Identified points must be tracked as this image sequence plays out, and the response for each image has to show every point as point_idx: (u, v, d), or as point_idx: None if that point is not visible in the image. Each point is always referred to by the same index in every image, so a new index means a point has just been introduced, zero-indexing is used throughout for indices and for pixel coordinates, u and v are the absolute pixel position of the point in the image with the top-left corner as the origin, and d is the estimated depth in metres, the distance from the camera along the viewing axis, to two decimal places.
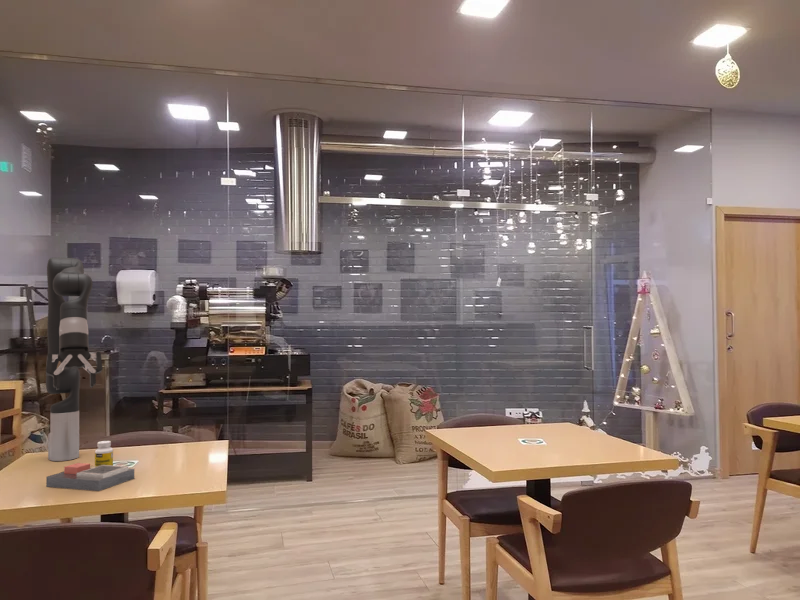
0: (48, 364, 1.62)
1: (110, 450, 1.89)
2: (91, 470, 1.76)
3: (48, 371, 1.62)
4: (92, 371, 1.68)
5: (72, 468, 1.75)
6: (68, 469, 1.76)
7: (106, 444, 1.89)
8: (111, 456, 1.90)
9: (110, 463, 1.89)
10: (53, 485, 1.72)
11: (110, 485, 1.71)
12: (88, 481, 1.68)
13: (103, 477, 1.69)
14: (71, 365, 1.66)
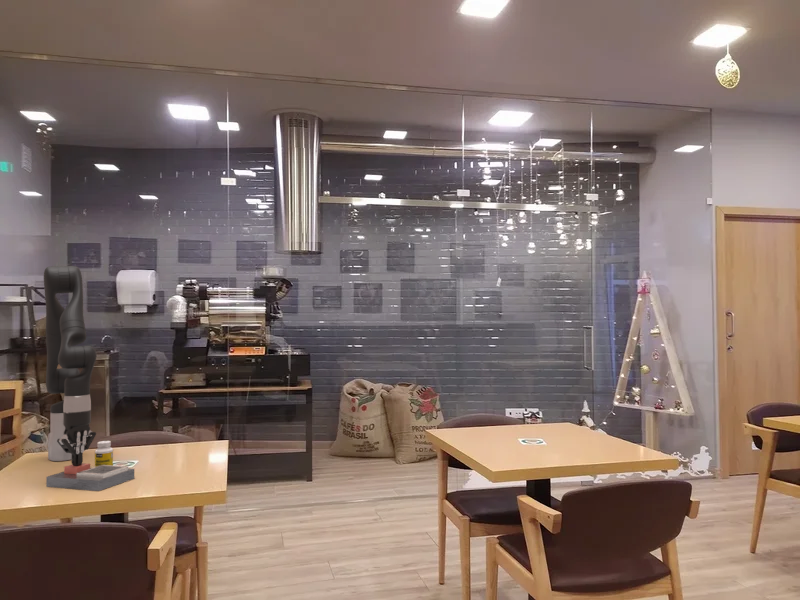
0: (69, 447, 1.74)
1: (110, 450, 1.89)
2: (91, 470, 1.76)
3: (73, 451, 1.75)
4: (82, 450, 1.78)
5: (72, 468, 1.75)
6: (68, 469, 1.76)
7: (106, 444, 1.89)
8: (111, 456, 1.90)
9: (110, 463, 1.89)
10: (53, 485, 1.72)
11: (110, 485, 1.71)
12: (88, 481, 1.68)
13: (103, 477, 1.69)
14: None
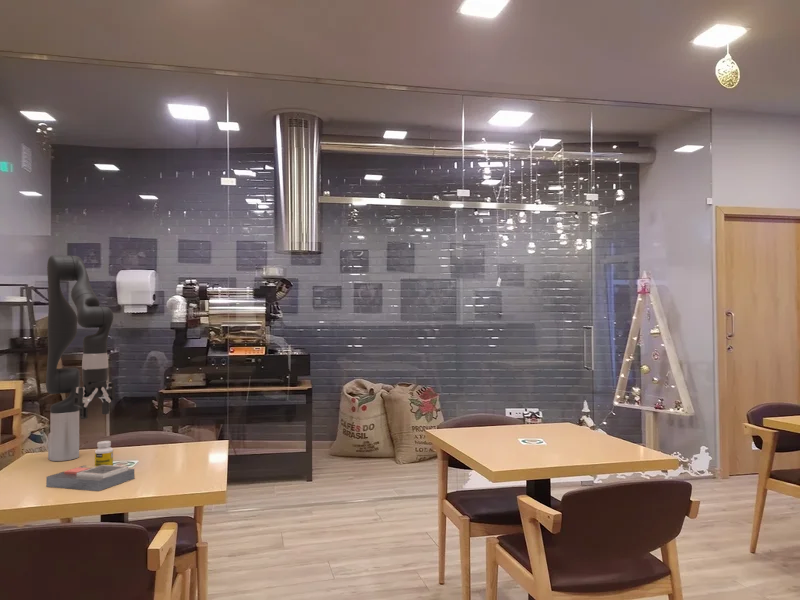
0: (80, 397, 1.81)
1: (110, 450, 1.89)
2: (91, 470, 1.76)
3: (80, 404, 1.81)
4: (108, 400, 1.91)
5: (72, 473, 1.75)
6: None
7: (106, 444, 1.89)
8: (111, 456, 1.90)
9: (110, 463, 1.89)
10: (53, 485, 1.72)
11: (110, 485, 1.71)
12: (88, 481, 1.68)
13: (103, 477, 1.69)
14: (95, 397, 1.86)
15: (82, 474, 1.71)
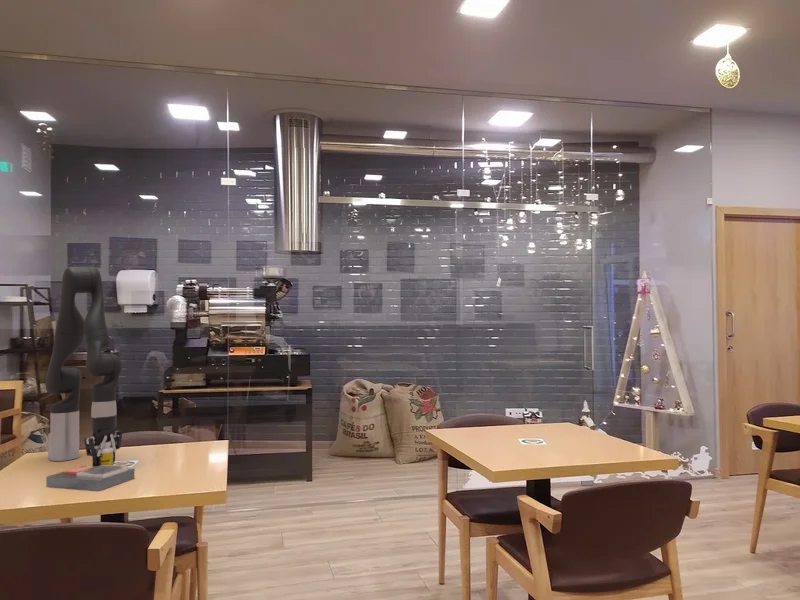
0: (92, 448, 1.84)
1: (110, 450, 1.89)
2: (91, 470, 1.76)
3: (94, 454, 1.85)
4: (114, 449, 1.93)
5: (72, 473, 1.75)
6: None
7: (106, 444, 1.89)
8: (111, 456, 1.90)
9: (110, 463, 1.89)
10: (53, 485, 1.72)
11: (110, 485, 1.71)
12: (88, 481, 1.68)
13: (103, 477, 1.69)
14: None
15: (82, 474, 1.71)
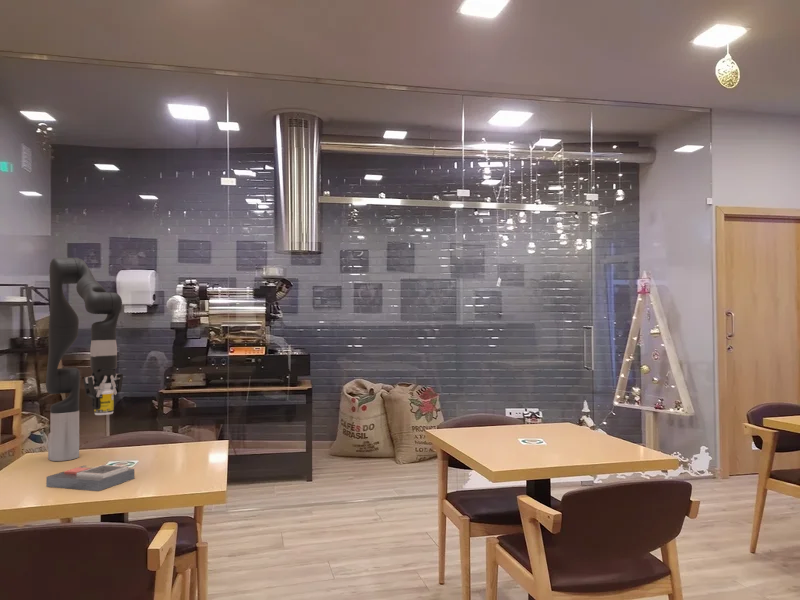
0: (92, 387, 1.75)
1: (110, 391, 1.80)
2: (91, 470, 1.76)
3: (93, 394, 1.75)
4: (115, 392, 1.84)
5: (72, 473, 1.75)
6: None
7: (106, 385, 1.80)
8: (111, 398, 1.80)
9: (110, 405, 1.80)
10: (53, 485, 1.72)
11: (110, 485, 1.71)
12: (88, 481, 1.68)
13: (103, 477, 1.69)
14: None
15: (82, 474, 1.71)
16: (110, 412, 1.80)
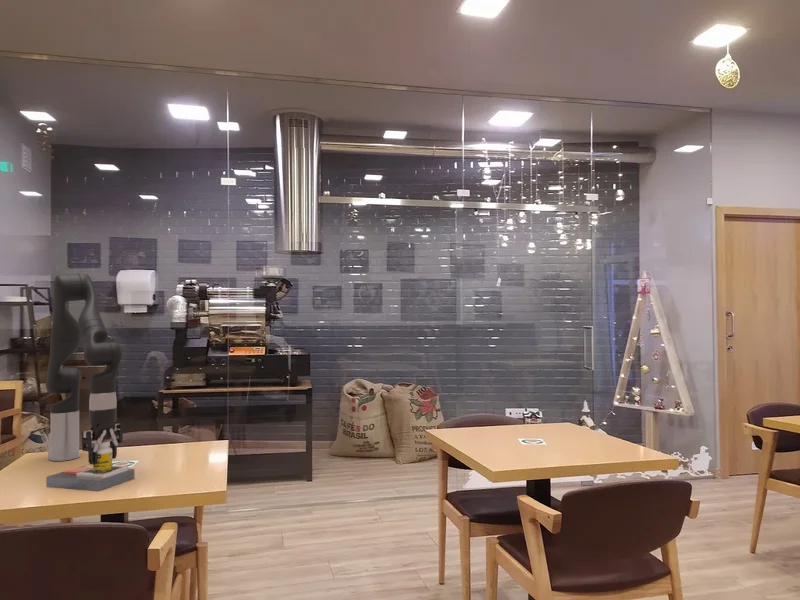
0: (89, 442, 1.69)
1: (109, 450, 1.75)
2: (91, 470, 1.76)
3: (90, 449, 1.69)
4: (116, 444, 1.79)
5: (72, 473, 1.75)
6: None
7: (105, 444, 1.74)
8: (110, 457, 1.75)
9: (109, 464, 1.74)
10: (53, 485, 1.72)
11: (110, 485, 1.71)
12: (88, 481, 1.68)
13: (103, 477, 1.69)
14: (103, 439, 1.74)
15: (82, 474, 1.71)
16: None
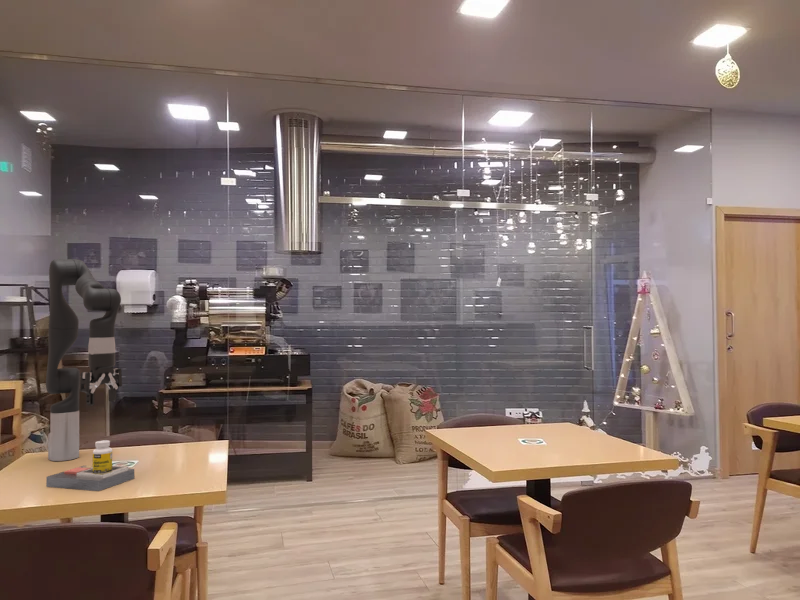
0: (87, 383, 1.73)
1: (109, 450, 1.75)
2: (91, 470, 1.76)
3: (87, 390, 1.73)
4: (115, 387, 1.83)
5: (72, 473, 1.75)
6: None
7: (105, 444, 1.74)
8: (110, 457, 1.75)
9: (109, 464, 1.74)
10: (53, 485, 1.72)
11: (110, 485, 1.71)
12: (88, 481, 1.68)
13: (103, 477, 1.69)
14: (102, 383, 1.78)
15: (82, 474, 1.71)
16: None
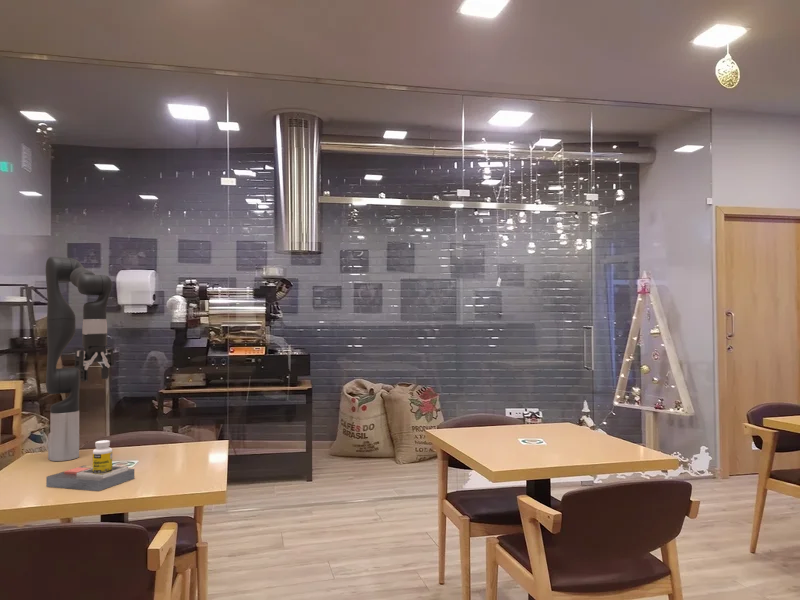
0: (81, 360, 1.88)
1: (109, 450, 1.75)
2: (91, 470, 1.76)
3: (81, 367, 1.88)
4: (108, 365, 1.99)
5: (72, 473, 1.75)
6: None
7: (105, 444, 1.74)
8: (110, 457, 1.75)
9: (109, 464, 1.74)
10: (53, 485, 1.72)
11: (110, 485, 1.71)
12: (88, 481, 1.68)
13: (103, 477, 1.69)
14: (95, 361, 1.94)
15: (82, 474, 1.71)
16: None
